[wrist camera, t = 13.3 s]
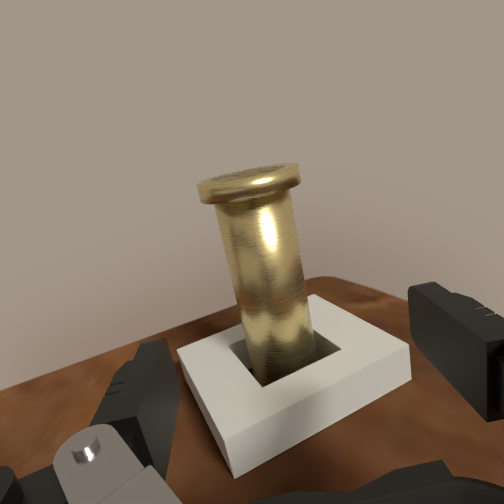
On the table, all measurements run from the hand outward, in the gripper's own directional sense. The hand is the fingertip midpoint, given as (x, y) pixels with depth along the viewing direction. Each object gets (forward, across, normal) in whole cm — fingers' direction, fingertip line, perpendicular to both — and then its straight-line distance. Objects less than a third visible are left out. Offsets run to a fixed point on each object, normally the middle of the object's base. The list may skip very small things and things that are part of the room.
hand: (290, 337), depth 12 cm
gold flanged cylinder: (+10, 0, +10) cm, 14 cm away
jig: (+11, 0, +10) cm, 14 cm away
